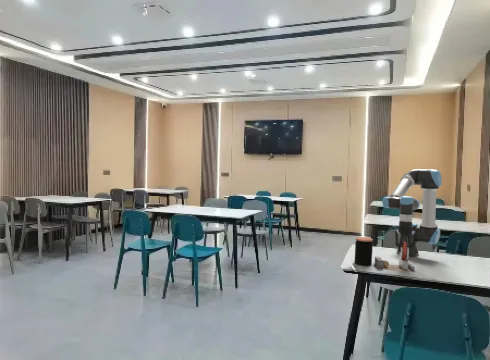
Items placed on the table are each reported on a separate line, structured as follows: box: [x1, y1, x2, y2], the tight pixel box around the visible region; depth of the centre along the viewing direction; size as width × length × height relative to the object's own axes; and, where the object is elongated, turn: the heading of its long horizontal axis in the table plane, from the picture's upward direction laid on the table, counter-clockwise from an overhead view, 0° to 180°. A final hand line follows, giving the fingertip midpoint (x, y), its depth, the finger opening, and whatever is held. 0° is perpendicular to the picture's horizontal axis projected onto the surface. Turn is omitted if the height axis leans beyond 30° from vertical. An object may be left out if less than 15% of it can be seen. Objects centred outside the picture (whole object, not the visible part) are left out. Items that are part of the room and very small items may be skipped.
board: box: [372, 256, 416, 272], centre depth 230 cm, size 13×22×6 cm, turn 83°
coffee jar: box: [354, 236, 374, 267], centre depth 236 cm, size 11×11×18 cm
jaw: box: [398, 242, 409, 269], centre depth 229 cm, size 9×3×16 cm, turn 173°
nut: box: [383, 260, 390, 267], centre depth 231 cm, size 4×4×4 cm
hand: (403, 257), depth 229 cm, fingers closed on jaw, 3 cm apart
